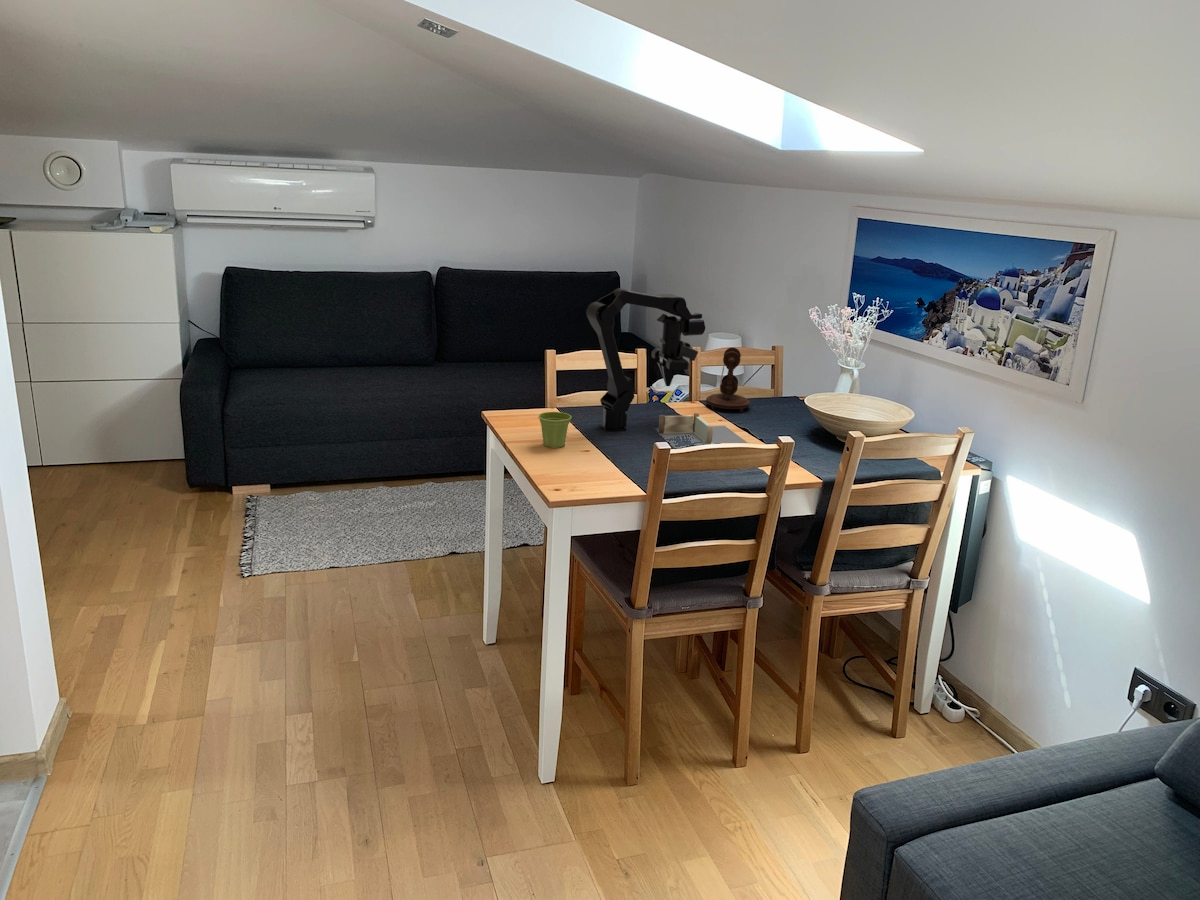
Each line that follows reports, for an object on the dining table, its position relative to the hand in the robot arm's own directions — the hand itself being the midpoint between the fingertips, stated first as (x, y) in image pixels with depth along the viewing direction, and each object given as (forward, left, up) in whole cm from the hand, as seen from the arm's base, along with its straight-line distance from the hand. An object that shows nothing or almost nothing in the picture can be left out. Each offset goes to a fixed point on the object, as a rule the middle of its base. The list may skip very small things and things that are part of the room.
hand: (667, 386), depth 289 cm
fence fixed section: (0, -11, -12) cm, 16 cm away
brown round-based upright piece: (+28, +16, -12) cm, 35 cm away
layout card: (+6, -16, -12) cm, 21 cm away
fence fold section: (+6, -18, -11) cm, 22 cm away
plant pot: (-40, -19, -12) cm, 46 cm away
